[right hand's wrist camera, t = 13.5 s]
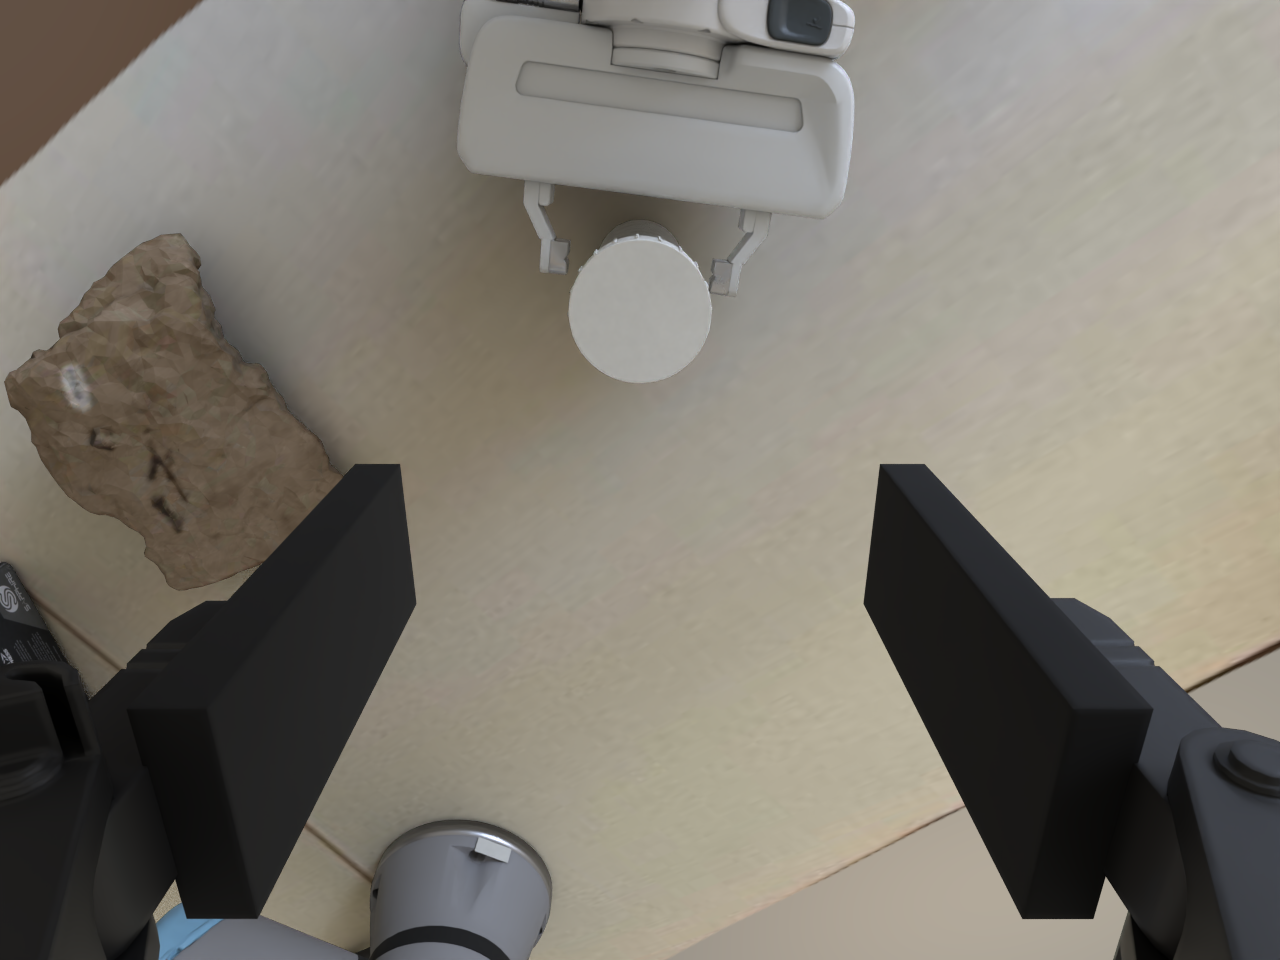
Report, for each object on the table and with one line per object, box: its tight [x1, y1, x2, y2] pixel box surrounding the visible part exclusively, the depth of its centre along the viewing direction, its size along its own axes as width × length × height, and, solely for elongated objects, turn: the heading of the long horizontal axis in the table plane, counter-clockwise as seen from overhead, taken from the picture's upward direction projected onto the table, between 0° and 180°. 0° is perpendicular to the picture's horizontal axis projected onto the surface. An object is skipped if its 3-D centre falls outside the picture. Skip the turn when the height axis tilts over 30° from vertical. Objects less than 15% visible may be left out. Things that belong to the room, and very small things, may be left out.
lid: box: [568, 234, 713, 384], centre depth 35 cm, size 6×6×2 cm
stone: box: [4, 233, 343, 591], centre depth 52 cm, size 21×15×6 cm
